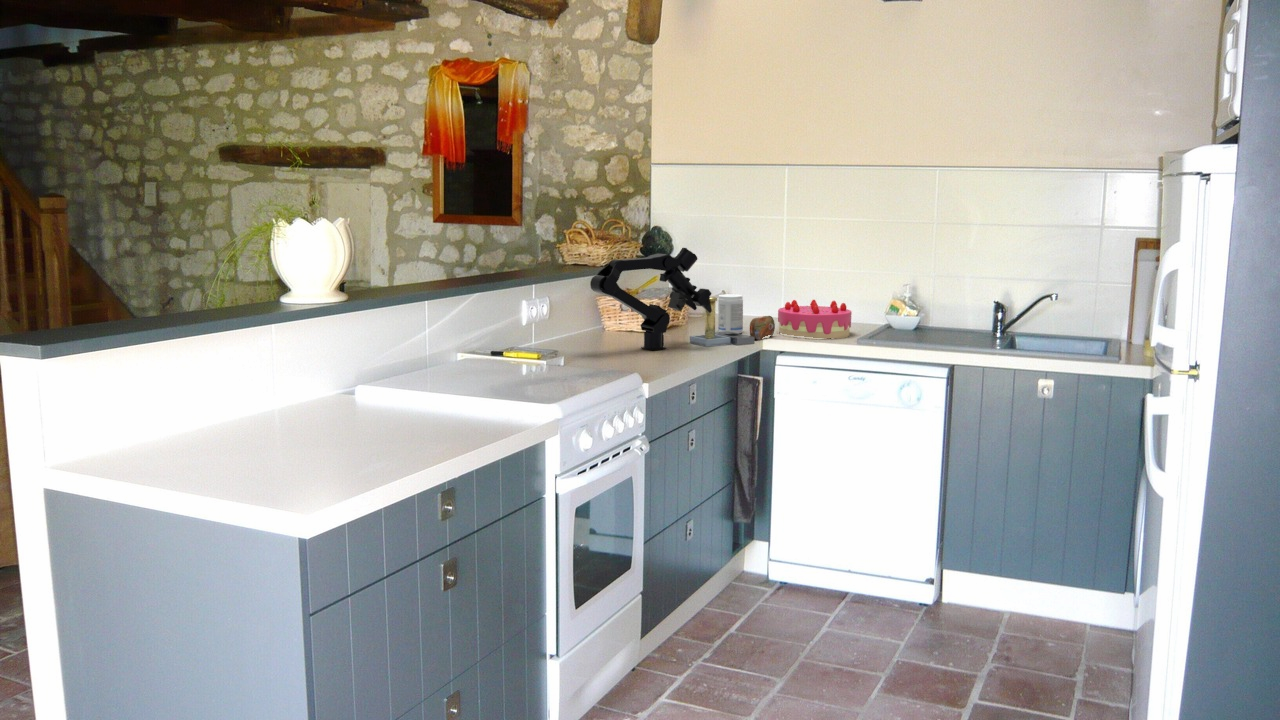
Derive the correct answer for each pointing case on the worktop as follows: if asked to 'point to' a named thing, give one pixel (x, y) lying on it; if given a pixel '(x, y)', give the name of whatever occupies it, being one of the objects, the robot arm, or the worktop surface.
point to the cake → (815, 320)
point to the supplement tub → (730, 313)
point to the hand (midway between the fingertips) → (703, 310)
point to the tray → (710, 340)
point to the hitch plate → (737, 338)
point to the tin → (762, 327)
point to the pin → (710, 320)
